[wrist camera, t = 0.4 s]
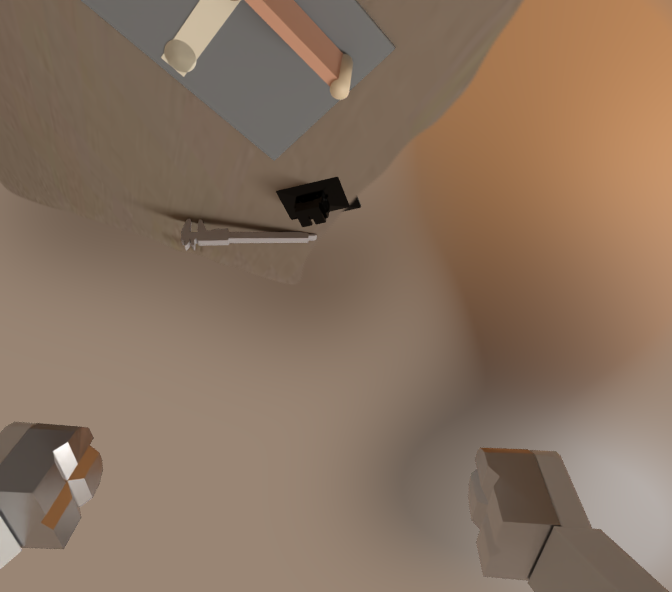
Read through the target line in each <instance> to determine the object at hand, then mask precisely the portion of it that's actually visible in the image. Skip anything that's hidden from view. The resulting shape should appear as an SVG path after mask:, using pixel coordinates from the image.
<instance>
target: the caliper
mask: <svg viewBox="0 0 672 592" xmlns="http://www.w3.org/2000/svg"><path fill="white" fill-rule="evenodd" d="M316 238H317V234H308V233H304V232H229V231H228V229H213V230H211V231H206V228H205V226H204V224H203V221H202V220H199V222H198V232H191V219H187V220H186V222H185V224H184V227H183V229H182V231H181V241H182V245H185V248H186V250H188V249H189V247H190V244H191V246H192V248H193V249H194V250H195V244H196V243H198V245H229V243H308V240H316Z"/></svg>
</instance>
